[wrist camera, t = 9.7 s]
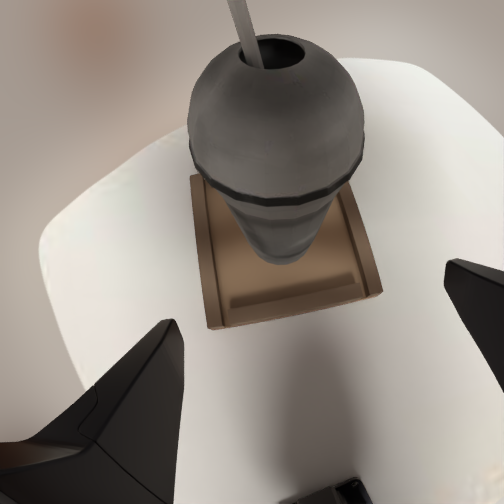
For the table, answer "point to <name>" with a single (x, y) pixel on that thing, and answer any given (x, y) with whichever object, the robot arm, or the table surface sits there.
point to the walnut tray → (279, 276)
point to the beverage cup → (275, 135)
